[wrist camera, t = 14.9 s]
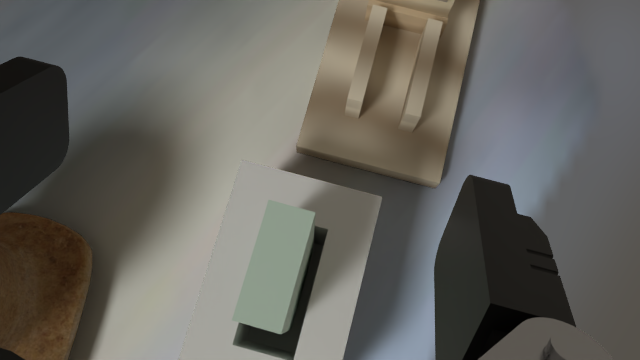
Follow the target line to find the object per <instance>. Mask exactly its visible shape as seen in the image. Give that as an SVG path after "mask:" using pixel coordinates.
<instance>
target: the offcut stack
mask: <svg viewBox="0 0 640 360" xmlns="http://www.w3.org/2000/svg"><path fill="white" fill-rule="evenodd" d="M454 1H455V0H369V1H368V5H367V10H366V16H365V20H366V21H369V17H370V14H371V10H372V6H373V5H377V6H381V7H385V8H387V12H386V16H385V20H384V24H383V25H386V26H390V27H394V28H398V29H402V30H406V31H410V32H414V33H418V34H422V33H423V30H424V28H425V25H426V23H427V20H428V18H430V19H434V20H438V21H442V22H443V24H442V28H441V32H440V36H439V39H440V38H441V36H442V34H443V32H444V29H445V27H446V25H447V21H448V17H449V13H450V10H451V8H452V5H453V3H454Z"/></svg>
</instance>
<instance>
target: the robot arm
mask: <svg viewBox="0 0 640 360" xmlns="http://www.w3.org/2000/svg"><path fill="white" fill-rule="evenodd" d="M68 145H69V123H68V100H67V80H66V75H65V73H64V71H63V69H62V68H61V67H59V66H56V65H52V64H48V63H44V62H40V61H36V60H33V59H29V58H25V57H16V58H14V59H11V60H9V61H7V62H5V63H3V64H1V65H0V215H1V214H2V213H3V212H4V211H6V210H7V209H8V208H9V207H11V206H12V205H13V204H14V203H15V202H17V201H18V200H19V199H20V198H22V197H23V196H24V195H25V194H26V193H28V192H29V191H30V190H31V189H33V188H34V187H35V186H36V185H38V184H39V183H40V182H41V181H42V180H44V179H45V178H46V177H47V176H49V175H50V174H51V173H52V172H53V171H55V170H56V169H57V168H58V167H59V166H60V165H61V163H62V162H63V160H64V158H65V156H66V153H67V150H68ZM552 258H553V254H552V250H551V247H550V244H549V241H548V238H547V236H546V235H545V234H544V232H543V231H542V230H541V229H540V228H539V226H538V225H537V224H536V223H535V222H534V221H533V219H532V218H531V217H528V216H524V215H520V214H517V211H516V207H515V203H514V199H513V195H512V192H511V188H510V186H509V185H507V184H504V183H500V182H496V181H492V180H488V179H485V178H481V177H477V176H473V175H469V176H468V177H467V178H466V180H465V181H464V183H463V186H462V188H461V191H460V193H459V196H458V198H457V201H456V203H455V206H454V208H453V211H452V213H451V216H450V218H449V221H448V223H447V226H446V228H445V231H444V233H443V236H442V238H441V241H440V244H439V247H438V251H437V255H436V260H435V267H434V288H435V351H436V360H613V358H612V357H611V356H610V354H609V353H608V352H607V351H606V350H605V349H604V348H603V347H602V346H601V345H600V344H599V343H598V342H597V341H595V340H594V339H593V338H592V337H591V336H589V335H588V334H586V333H585V332H583V331H581V330H580V329H578V328H576V325H575V322H574V319H573V316H572V313H571V310H570V306H569V303H568V300H567V297H566V294H565V291H564V288H563V285H562V281H561V278H560V276H558V269H557V266H556V263H555V260H554V259H552ZM0 360H25V359H23V358H22V357H20V356H18V355H17V354H15V353H14V352H12V351H10V350H6V349H3V348H0Z"/></svg>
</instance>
